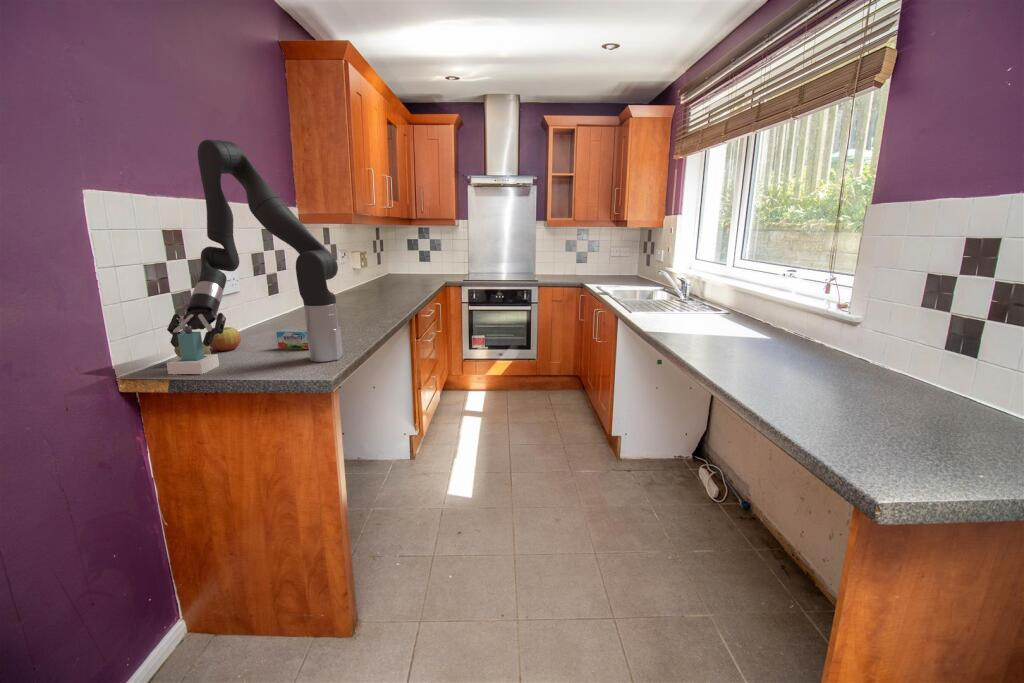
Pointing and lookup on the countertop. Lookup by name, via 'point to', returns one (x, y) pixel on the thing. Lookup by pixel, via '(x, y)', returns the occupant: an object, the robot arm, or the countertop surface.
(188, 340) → the teal block with knob
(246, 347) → the countertop surface
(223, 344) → the apple
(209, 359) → the socket
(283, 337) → the blue printed box
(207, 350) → the fossil
